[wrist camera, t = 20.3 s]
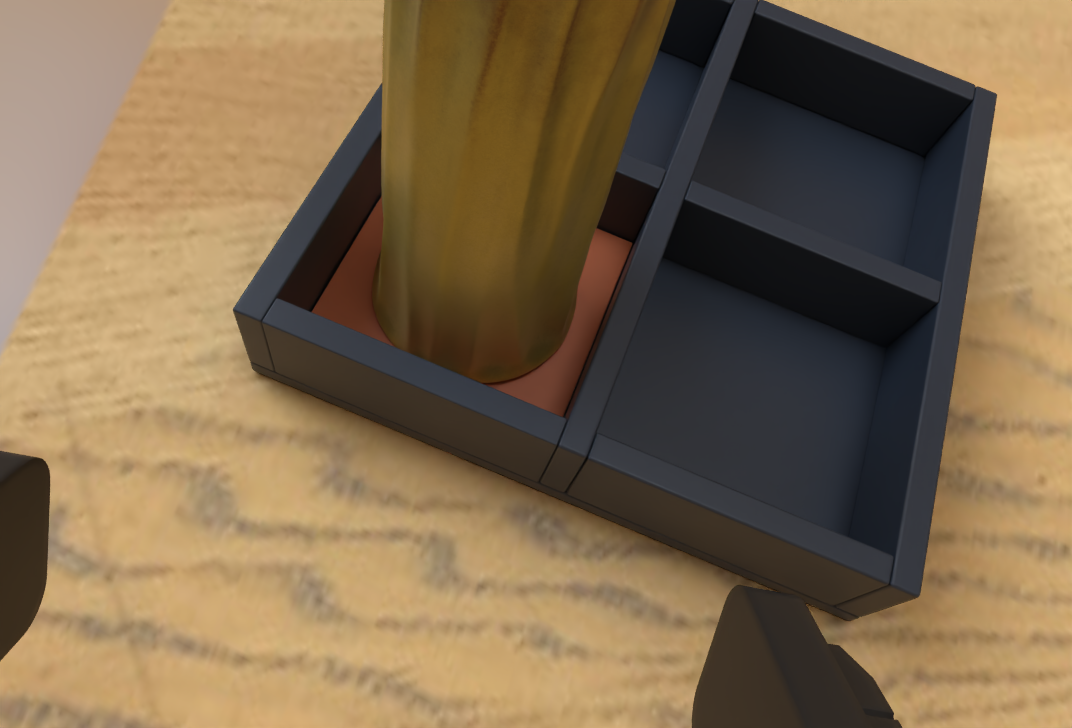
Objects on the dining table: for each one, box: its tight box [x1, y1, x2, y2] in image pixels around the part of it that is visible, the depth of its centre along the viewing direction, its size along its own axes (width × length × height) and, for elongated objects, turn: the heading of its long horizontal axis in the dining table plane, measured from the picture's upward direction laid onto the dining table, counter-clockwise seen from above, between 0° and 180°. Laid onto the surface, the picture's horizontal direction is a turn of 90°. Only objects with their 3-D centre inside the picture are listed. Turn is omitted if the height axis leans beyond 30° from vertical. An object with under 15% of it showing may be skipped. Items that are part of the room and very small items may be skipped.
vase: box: [372, 0, 676, 383], centre depth 19 cm, size 6×6×14 cm
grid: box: [233, 0, 997, 621], centre depth 27 cm, size 18×18×4 cm
